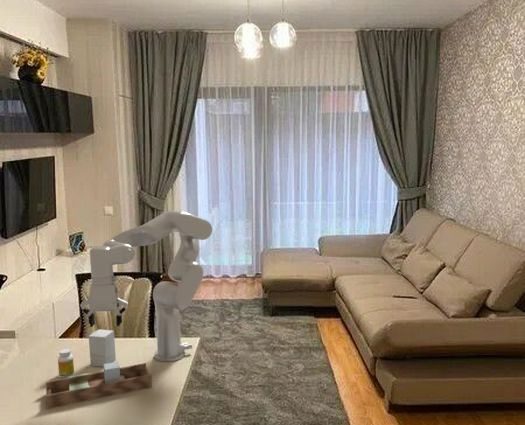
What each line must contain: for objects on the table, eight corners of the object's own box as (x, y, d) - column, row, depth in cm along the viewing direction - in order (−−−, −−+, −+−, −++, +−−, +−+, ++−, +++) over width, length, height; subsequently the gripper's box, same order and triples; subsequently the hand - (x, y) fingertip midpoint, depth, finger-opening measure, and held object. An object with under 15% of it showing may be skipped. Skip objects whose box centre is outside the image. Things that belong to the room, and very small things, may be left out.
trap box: (146, 374, 184) (145, 362, 184) (151, 387, 175) (151, 374, 174) (46, 393, 170) (45, 381, 170) (46, 409, 161) (45, 395, 160)
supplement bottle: (68, 378, 181) (67, 354, 180) (56, 377, 183) (54, 353, 181) (77, 372, 187) (75, 348, 185) (64, 371, 188) (62, 347, 186)
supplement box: (116, 359, 197) (114, 330, 196) (106, 367, 190) (104, 337, 188) (100, 357, 199) (98, 328, 197) (89, 365, 192) (88, 335, 190)
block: (118, 376, 177) (117, 361, 176) (120, 382, 173) (119, 367, 172) (104, 379, 175) (103, 364, 174) (106, 385, 171) (105, 369, 170)
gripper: (129, 276, 177) (131, 321, 180) (82, 277, 177) (85, 322, 180) (123, 282, 170) (126, 328, 173) (74, 283, 170) (78, 329, 172)
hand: (105, 325), depth 176 cm, fingers open, 9 cm apart
